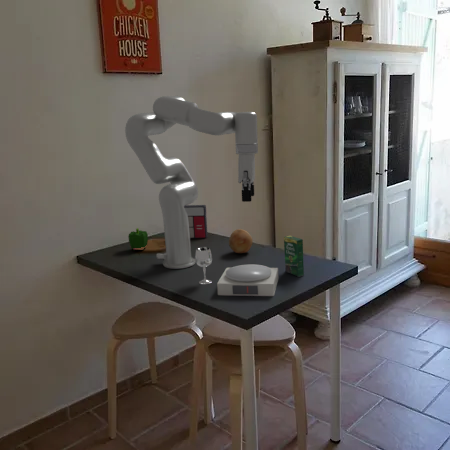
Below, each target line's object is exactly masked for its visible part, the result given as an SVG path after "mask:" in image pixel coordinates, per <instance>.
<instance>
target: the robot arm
mask: <svg viewBox="0 0 450 450" xmlns="http://www.w3.org/2000/svg"><path fill="white" fill-rule="evenodd" d="M152 111H153V112H141V113H140V112H139V113H137V114H136V113H135V114H134V115H131V116H130V117H129V118H128V120H127V121H126V123H125V127H124V128H125V129H124V132H125V138H126V141H127V143H128V144H129V146H130V147H131V150H132V151H133V152H134V154H135V155H136V157H137V158H138V159H139V161H140V164H141V165H142V167H143V168H144V170H145V173H146V174H147V176H148V177H149V178H150V180H151V181H152V182H153V184H155V185H163V184H166V185H164V187H162V188H161V189H160V191H159V193H158V202H159V205H160V209H161V213H162V221H163V222H162V223H163V228H164V229H163V231H164V232H163V233H164V239H165V240H164V242H165V252H164V253H156V259H157V261H158V260H160V261H161V260H163V261H162V265H163V267H164V268H167V269H186V268H189V267H192V266H194V265H195V264H196V261H195V257H193V256H192V251H191V250H192V248H191V238H190V234H189V222H188V216H187V213H186V211H185V209H184V206H185V205H191V204H192V203H194V202H196V200H197V199H198V196H199V190H198V187H197V184H196V182H195V180H194V179H193V177H192V175H191V173H190V171H188V169H187V167H186V165H185V164H184V163H183V161H182V160H181V159H180V158H178V157H175V156H164V155H163V153H162V152H161V150H160V149H159V147H158V145H157V144H156V143H155V142H154V141H153V140H152V139H150V138H149V136H156V135H161V134H163V133H165V132H167V131H168V130H169V129H171V128H172V127H173V126H175V125H176V124H178V125H183V126H186V127H189V128H190V129H192V130H194V131H197V132H199V133H203V134H208V135H210V136H224V135H229V134H234V137H235V138H234V139H235V154H236V155H238V158H237V159H238V161H237V167H238V168H237V169H238V170H237V174H238V177H237V178H238V179H237V180H238V181H237V182H238V183H239V184H241V202H243V203H245V202H249V203H251V202H252V197H254V196H255V185H254V184H255V183H254V181H255V177H256V159H255V156H256V154H259V146H258V145H259V142H258V138H259V137H258V115H257V113H256V112H254V111H238V112H237V111H219V112H214V111H210V110H209V111H208V110H205V109H201V108H199V106H198V104H197V103H196V102H193V101H188V100H185V99H184V98H183V97H181V96H178V95H164V96H163V95H162V96H160V97H158V98H157V99H154V102H153V104H152ZM167 183H169V184H167Z"/></svg>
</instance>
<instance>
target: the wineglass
mask: <svg viewBox="0 0 450 450" xmlns="http://www.w3.org/2000/svg"><path fill="white" fill-rule="evenodd" d="M194 253H195V254H194V255H195V256H194V259H195V261H196V263H195V264H196V265H197V266H199V267H200V268H202V270H203V271H202V272H203V279H201V280H199V281H198V284H200V285H209V284H211V283H212V282H213V281H212V280H210V279H207V277H206V271H207V269H206V267H209V266H210V265H212V261H213V256H212V251H211V249H210V247H208V246H201V247H200V246H199V247H197V248H196V249H195V252H194Z"/></svg>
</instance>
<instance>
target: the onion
mask: <svg viewBox="0 0 450 450" xmlns="http://www.w3.org/2000/svg"><path fill="white" fill-rule="evenodd" d="M253 241H254V240H253V237H252V235H251V234H250V233H249V232H248V231H247V230H245V229H242V228H238V229H235V230H234V231H232V233H231V234H230V236H229V239H228V245H229V247H230V249H231V251H233V252H234V253H236V254H246V253H248V252H249V251H250V250H251V248H252V245H253Z"/></svg>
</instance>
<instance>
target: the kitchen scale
mask: <svg viewBox="0 0 450 450" xmlns="http://www.w3.org/2000/svg"><path fill="white" fill-rule="evenodd" d="M278 282H279V267H269V266H266V265H261V264H241V265H235V266H233V267H226V268H225V270H224V272H223V273H222V274H221V277H220V278H219V280H218V282H217V283H216V286H217V296H240V297H241V296H243V297H244V296H248V297H250V296H251V297H253V296H254V297H274V296H275V294H276V290H277V287H278V286H277V285H278Z"/></svg>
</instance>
